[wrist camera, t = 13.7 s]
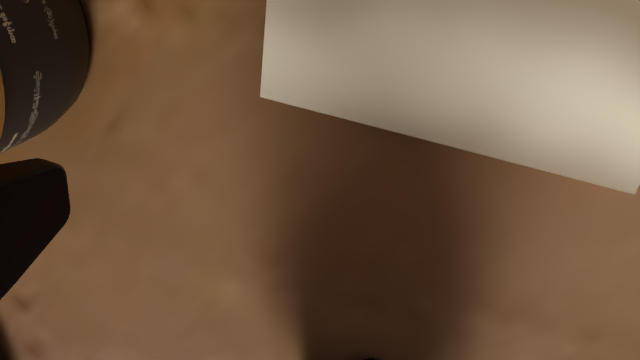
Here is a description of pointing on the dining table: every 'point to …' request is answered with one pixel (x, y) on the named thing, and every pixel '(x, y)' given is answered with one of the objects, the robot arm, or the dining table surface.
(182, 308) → the dining table surface
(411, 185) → the dining table surface
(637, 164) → the birch board
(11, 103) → the jar
